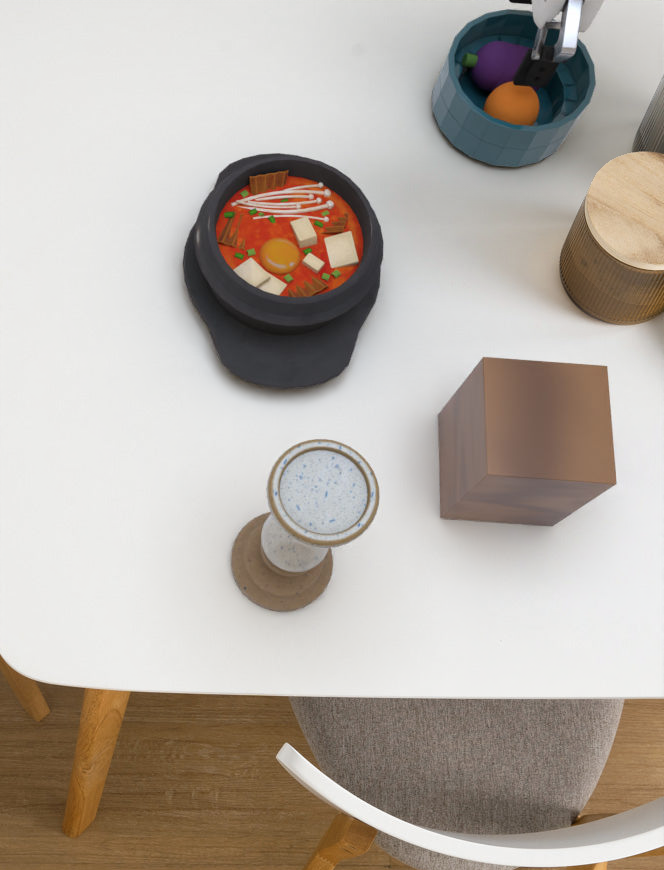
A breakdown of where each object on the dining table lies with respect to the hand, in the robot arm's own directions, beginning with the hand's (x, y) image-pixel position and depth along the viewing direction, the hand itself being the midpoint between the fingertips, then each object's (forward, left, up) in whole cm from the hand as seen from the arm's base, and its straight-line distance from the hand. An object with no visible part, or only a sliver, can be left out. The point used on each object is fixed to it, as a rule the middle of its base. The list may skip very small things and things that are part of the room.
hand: (526, 41), depth 92 cm
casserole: (+22, +23, -7) cm, 33 cm away
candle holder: (+21, +51, -7) cm, 56 cm away
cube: (+2, +41, -7) cm, 42 cm away
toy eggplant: (+1, +1, -6) cm, 6 cm away
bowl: (0, +2, -7) cm, 8 cm away
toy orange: (0, +4, -7) cm, 8 cm away
